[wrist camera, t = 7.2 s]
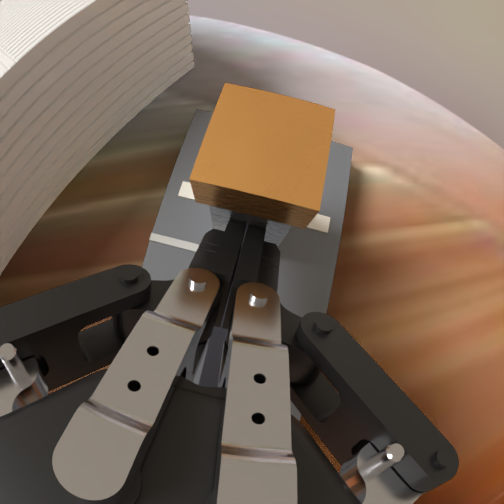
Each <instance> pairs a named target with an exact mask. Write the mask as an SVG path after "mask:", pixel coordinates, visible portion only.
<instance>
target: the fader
mask: <svg viewBox="0 0 504 504" xmlns="http://www.w3.org/2000/svg"><path fill="white" fill-rule="evenodd" d="M334 115H335V109H332V108H328V107H325V106H322V105H318V104H315V103H311V102H307V101H304V100H300V99H296V98H292V97H288V96H284V95H280V94H276V93H272V92H268V91H263V90H259V89H254V88H249V87H244V86H239V85H234V84H228V83H225V84H224V87H223V89H222V92H221V94H220V97H219V99H218V102H217V104H216V107H215V109H214V112H213V115H212V117H211V120H210V123H209V125H208V128H207V131H206V133H205V136H204V139H203V141H202V144H201V147H200V150H199V153H198V155H197V158H196V161H195V164H194V167H193V170H192V173H191V176H190V179H189V180H190V184H191V187H192V191H193V194H194V198H195V202H196V203H201V204H205V205H209V209H210V215H211V220H212V225H213V228H214V229H218V230H222V231H225V229H226V226H227V224H228V221H229V220H233V221H237V222H241V223H245V224H247V226H246V230H245V234H244V238H245V235H246V231H247V228H248V224H249V225H253V226H257V227H261V228H265V229H266V232H265V238H264V241H266V242H270V243H274V244H276V245H277V247H279V245H280V244H281V242H282V241H283V239H284V238H285V236H286V235H287V233H288V232H289V230H290V229H291V227H292V226H295V227H299V228H302V229H305V228H306V227H307V226H308V225H309V223H310V222H311V221H312V220H313V219H314V217H315V216H316V215H317V214H318V212H319V211H320V206H321V200H322V194H323V188H324V182H325V176H326V170H327V164H328V157H329V150H330V144H331V137H332V130H333V123H334ZM243 242H244V239H243ZM242 246H243V243H242ZM241 248H242V247H241Z"/></svg>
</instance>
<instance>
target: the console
mask: <svg viewBox="0 0 504 504" xmlns="http://www.w3.org/2000/svg"><path fill="white" fill-rule="evenodd" d="M212 115H213V112H209V111H203V110H198V109H197V110H196V112H195V115H194V117H193V120H192V122H191V125H190V127H189V130H188V132H187V135H186V137H185V140H184V142H183V145H182V148H181V150H180V153H179V156H178V158H177V161H176V164H175V166H174V169H173V172H172V175H171V177H170V180H169V183H168V186H167V189H166V192H165V195H164V198H163V201H162V204H161V207H160V210H159V213H158V216H157V219H156V222H155V225H154V228H153V231H152V233H151V236H150V239H149V240H150V241H149V245H148V248H147V251H146V255H145V258H144V262H143V265H142V268H144V269H146V270H147V271H148V272H149V274H150V276H151V280H161V281H167V280H173V279H175V278H176V276H177V275H178V274H179V273H180V272H181V271H183V270H185V269H188V267H189V265H190V263H191V261H192V259H193V257H194V255H195V253H196V251H197V249H198V247H199V245H200V243H201V241H202V239H203V237H204V235H205V233H207V232H208V231H210V230H212V229H213V225H212V220H211V215H210V209H209V205H205V204H201V203H196V202H195V198H194V194H193V191H192V187H191V184H190V180H189V179H190V176H191V173H192V170H193V167H194V164H195V161H196V158H197V155H198V153H199V150H200V147H201V144H202V141H203V139H204V136H205V133H206V131H207V128H208V125H209V123H210V120H211V117H212ZM352 150H353V148H352V147H349V146H346V145H343V144H339V143H336V142H333V141H331V144H330V150H329V157H328V164H327V170H326V176H325V182H324V188H323V194H322V200H321V206H320V211H319V212H318V214H317V215H316V216H315V217H314V219H313V220H312V221H311V222H310V223H309V225H308V226H307V227H306V228H305V229H302V228H299V227H295V226H292V227H291V229H290V230H289V232H288V233H287V235H286V236H285V238H284V239H283V241H282V242H281V244H280V245H279V247H278V248H279V250H280V252H281V253H280V265H279V277H278V289H277V294H278V295H279V298H280V303H281V304H282V305H283V306H284V307H285V308H286V309H287V310H289V311H290V312H292V313H294V314H296V315H298V316H300V317H303V316H304V315H305V314H307V313H310V312H321V313H325V314H326V313H327V308H328V303H329V298H330V293H331V288H332V283H333V278H334V272H335V267H336V261H337V256H338V250H339V244H340V238H341V232H342V226H343V219H344V212H345V205H346V198H347V191H348V183H349V176H350V167H351V159H352ZM241 249H242V248H241ZM240 253H241V251H240ZM239 257H240V255H239ZM232 283H233V282H232ZM231 287H232V286H231ZM230 292H231V290H230ZM229 296H230V293H229ZM228 300H229V297H228ZM227 305H228V301H227V304H226V308H225V312H224V316H223V319H222V323H221V327H216V326H214V329H213V332H212V335H211V337H210V338H209V342H208V345H207V348H206V350H205V353H204V355H203V358H202V360H201V363H200V365H199V368H198V370H197V373H196V375H195V378H194V380H193V383H195V384H197V385H200V386H203V387H218V380H219V372H220V365H221V358H222V351H223V345H224V341H225V337H226V333H227V329H224V328H222V326H223V322H224V318H225V313H226V309H227ZM290 408H291V415H293V416H294V417H295V418H296V419H297V420H298V421H300V418H301V413H300V412H299V411H298V409H297V408H296V407H295V405H294V404H293V403H292V401H291V400H290Z"/></svg>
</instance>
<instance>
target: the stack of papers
mask: <svg viewBox="0 0 504 504" xmlns="http://www.w3.org/2000/svg"><path fill="white" fill-rule="evenodd" d="M186 1H188V0H2V1H1V2H0V275H1V273H2V272H3V270H4V269H5V267H6V266H7V264H8V263H9V261H10V260H11V258H12V257H13V255H14V254H15V252H16V251H17V249H18V248H19V247H20V245H21V244H22V242H23V241H24V239H25V238H26V237H27V235H28V234H29V233H30V231H31V230H32V229H33V227H34V226H35V225H36V223H37V222H38V221H39V219H40V218H41V217H42V215H43V214H44V213H45V212H46V210H47V209H48V208H49V207H50V205H51V204H52V203H53V202H54V201H55V199H56V198H57V197H58V196H59V195H60V193H61V192H62V191H63V190H64V189H65V187H66V186H67V185H68V184H69V183H70V182H71V181H72V179H73V178H74V177H75V176H76V175H77V174H78V173H79V172H80V171H81V169H82V168H83V167H84V166H85V165H86V164H87V163H88V162H89V161H90V160H91V159H92V158H93V157H94V156H95V155H96V153H97V152H98V151H99V150H100V149H101V148H102V147H103V146H104V145H105V144H106V143H107V142H108V141H109V140H110V139H111V138H112V137H113V136H114V135H115V134H116V133H117V132H119V131H120V130H121V129H122V128H123V127H124V126H125V125H126V124H127V123H128V122H129V121H130V120H131V119H132V118H133V117H135V116H136V115H137V114H138V113H139V112H140V111H141V110H142V109H144V108H145V107H146V106H147V105H148V104H149V103H150V102H152V101H153V100H154V99H155V98H156V97H157V96H159V95H160V94H161V93H162V92H163V91H165V90H166V89H167V88H168V87H169V86H171V85H172V84H173V83H174V82H176V81H177V80H178V79H180V78H181V77H182V76H183V75H185V74H186V73H187V72H189V71H190V70H191V69H193V68H194V67H195V66H194V61H193V59H194V57H193V52H191V51H193V47H192V43H190V42H191V41H192V38H191V34H189V33H190V32H191V28H190V24H188V23H189V22H190V18H189V14H187V12H188V11H189V7H188V3H185V2H186Z"/></svg>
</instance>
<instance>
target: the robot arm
mask: <svg viewBox="0 0 504 504" xmlns="http://www.w3.org/2000/svg"><path fill="white" fill-rule="evenodd" d="M246 226H247V224H245V223H241V222H237V221H233V220H229V221H228V224H227V226H226V229H225V231H222V230H218V229H214V228H213V229H212V230H210V231H208V232H207V233H205V235H204V237H203V239H202V241H201V243H200V245H199V247H198V249H197V251H196V253H195V255H194V257H193V259H192V261H191V263H190V265H189V267H188V269H185V270H183V271H181V272H180V273H179V274H178V275H177V276H176V278H175V279H173V280H167V281H161V280H151V276H150V274H149V272H148V271H147V270H146V269H144V268H142V267H140V266H137V265H121V266H118V267H115V268H112V269H109V270H106V271H103V272H100V273H97V274H94V275H91V276H88V277H85V278H82V279H79V280H76V281H73V282H71V283H68V284H65V285H62V286H59V287H56V288H53V289H50V290H48V291H45V292H42V293H39V294H36V295H33V296H31V297H28V298H25V299H22V300H19V301H17V302H14V303H11V304H8V305H6V306H3V307H0V504H413V503H414V502H415V501H416V500H417V499H418V498H419V497H420V496H421V495H422V494H424V493H426V492H428V491H430V490H432V489H434V488H436V487H438V486H439V485H441V484H443V483H445V482H447V481H449V480H450V479H452V478H453V477H454V475H455V474H456V472H457V470H458V465H459V460H458V455H457V452H456V450H455V449H454V447H453V446H452V445H451V444H450V443H449V442H448V440H447V439H446V438H445V437H444V436H443V435H442V434H441V433H440V432H439V430H438V429H437V428H436V427H435V426H434V425H433V424H432V423H431V422H430V421H429V419H428V418H427V417H426V416H425V415H424V414H423V413H422V412H421V411H420V410H419V409H418V407H417V406H416V405H415V404H414V403H413V402H412V401H411V400H410V399H409V398H408V397H407V395H406V394H405V393H404V392H403V391H402V390H401V389H400V388H399V387H398V386H397V385H396V384H395V382H394V381H393V380H392V379H391V378H390V377H389V376H388V375H387V374H386V373H385V372H384V371H383V369H382V368H381V367H380V366H379V365H378V364H377V363H376V362H375V361H374V360H373V359H372V358H371V357H370V356H369V354H368V353H367V352H366V351H365V350H364V349H363V348H362V347H361V346H360V345H359V344H358V343H357V342H356V341H355V339H354V338H353V337H352V336H351V335H350V334H349V333H348V332H347V331H346V330H345V329H344V328H343V327H342V326H341V325H340V324H339V322H338V321H337V320H335V319H334V318H333V317H331V316H330V315H327V314H325V313H321V312H310V313H307V314H305V315H304V316H303V317H300V316H298V315H296V314H294V313H292V312H290V311H289V310H287V309H286V308H285V307H284V306H283V305H282V304H281V303H280V298H279V295H278V294H277V289H278V277H279V265H280V253H281V252H280V250H279V248H278V247H277V245H276V244H274V243H270V242H266V241H264V238H265V232H266V229H265V228H261V227H257V226H253V225H249V224H248V228H247V231H246V235H245V238H244V234H245V230H246ZM243 239H244V242H243ZM242 243H243V246H242ZM241 247H242V249H241ZM240 251H241V253H240ZM239 255H240V257H239ZM232 282H233V283H232ZM231 286H232V287H231ZM230 290H231V292H230ZM229 293H230V296H229ZM228 297H229V300H228ZM227 301H228V305H227V309H226V313H225V318H224V322H223V326H222V328H224V329H227V333H226V337H225V341H224V345H223V351H222V358H221V365H220V372H219V380H218V387H203V386H200V385H197V384H195V383H193V380H194V378H195V375H196V373H197V370H198V368H199V365H200V363H201V360H202V358H203V355H204V353H205V350H206V348H207V345H208V342H209V338H210V337H211V335H212V332H213V329H214V326H216V327H221V323H222V319H223V316H224V312H225V308H226V304H227ZM110 316H112V319H111V320H108V321H106V322H103V323H101V324H98V325H96V326H93V327H91V328H88V329H86V330H83V331H81V332H80V330H81V329H82V328H84V327H85V326H88V325H90V324H93V323H95V322H98V321H100V320H103V319H105V318H108V317H110ZM109 364H111V365H110V367H109V368H108V369H105V370H101V371H98V372H95V373H93V374H91V375H89V376H86V377H84V378H82V379H80V380H78V381H76V382H74V383H72V384H70V385H68V386H66V387H64V388H62V389H59V390H57V391H55V392H53V393H51V394H49V395H47V394H48V391H50V390H53V389H55V388H57V387H60V386H62V385H64V384H67V383H69V382H71V381H73V380H76V379H78V378H80V377H83V376H85V375H87V374H89V373H92V372H94V371H96V370H98V369H100V368H103V367H105V366H107V365H109ZM321 372H322V373H323V374H324V375H325V377H326V378H327V379H328V380H329V381H330V383H331V384H332V385H333V386H334V387H335V389H336V390H337V391H338V392H337V391H336V390H335V389H334V388H333V386H332V385H331V384H330V383H329V382H328V380H327V379H326V378H325V377H324V376H323V374H322V373H321ZM338 393H339V394H340V395H339V394H338ZM290 400H291V401H292V403H293V404H294V405H295V407H296V408H297V409H298V411H299V412H300V413H301V415H302V416H303V417H304V419H305V420H306V421H307V423H308V424H309V425H310V426H311V428H312V429H313V430H314V432H315V433H316V434H317V435H318V437H319V438H320V439H321V441H322V442H323V443H324V444H325V446H326V447H327V448H328V449H329V451H330V452H331V453H332V454H333V456H334V457H335V458H336V459H337V461H338V462H339V463H340V464H341V466H342V467H341V470H340V475H339V473H338V472H337V471H336V469H335V468H334V467H333V465H332V464H331V463H330V461H329V460H328V459H327V457H326V456H325V454H324V453H323V452H322V450H321V449H320V448H319V446H318V445H317V444H316V442H315V441H314V439H313V438H312V437H311V435H310V434H309V432H308V431H307V430H306V428H305V427H304V426H303V425H302V424H301V423H300V422H299V421H298V420H297V419H296V418H295V417H294V416H293V415H291V408H290Z"/></svg>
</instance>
